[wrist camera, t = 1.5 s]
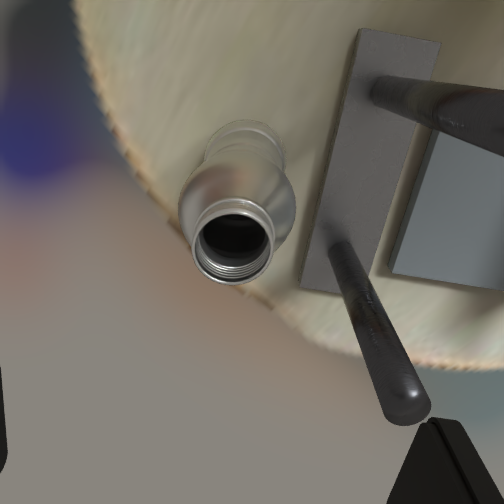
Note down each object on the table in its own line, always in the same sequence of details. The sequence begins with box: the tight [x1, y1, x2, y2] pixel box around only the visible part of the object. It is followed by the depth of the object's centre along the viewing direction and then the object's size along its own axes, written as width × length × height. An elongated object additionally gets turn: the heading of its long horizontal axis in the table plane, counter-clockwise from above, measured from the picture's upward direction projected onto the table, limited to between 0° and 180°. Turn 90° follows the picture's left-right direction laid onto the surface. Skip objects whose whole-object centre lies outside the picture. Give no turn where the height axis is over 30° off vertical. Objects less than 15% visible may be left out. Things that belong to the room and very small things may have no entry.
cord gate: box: [298, 28, 504, 426], centre depth 29 cm, size 22×6×20 cm, turn 170°
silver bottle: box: [178, 120, 296, 285], centre depth 28 cm, size 6×7×20 cm
